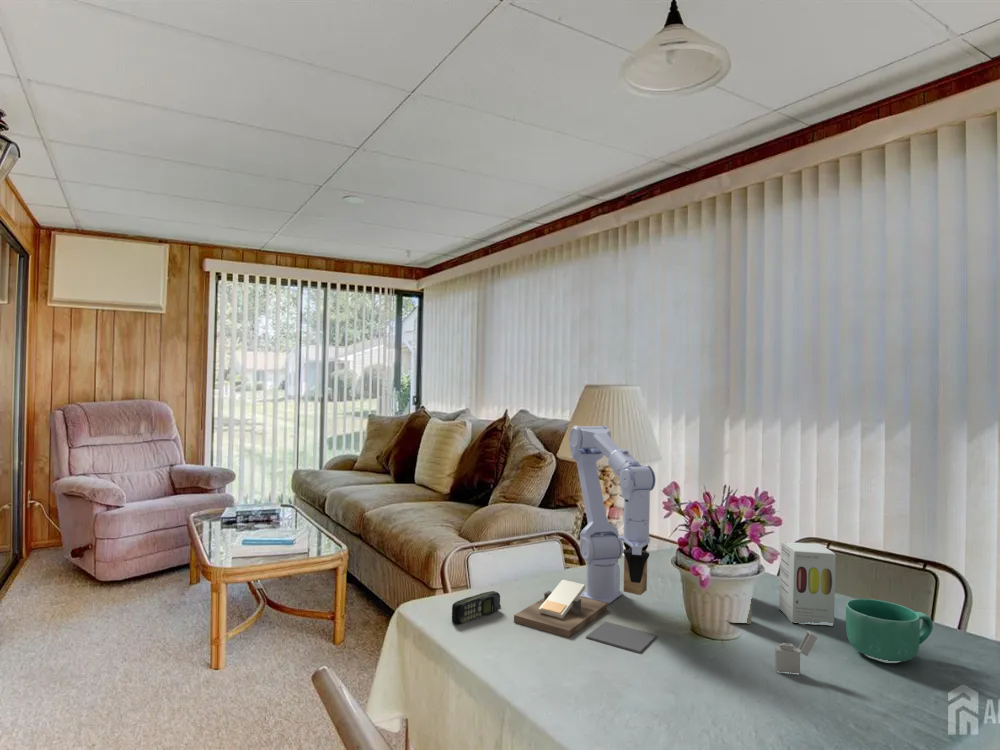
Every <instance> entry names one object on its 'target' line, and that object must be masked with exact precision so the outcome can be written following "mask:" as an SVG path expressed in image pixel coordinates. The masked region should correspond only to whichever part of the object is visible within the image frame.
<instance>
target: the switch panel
mask: <svg viewBox="0 0 1000 750" xmlns="http://www.w3.org/2000/svg"><path fill="white" fill-rule="evenodd" d="M552 592H553V591H550V590H548V591H546V592H544V593H543V595H544V596H543V598H541V599H540V600H537V601H536V602H535V603H532V604H531V605H529V606H527V607H525V608H524V609H522V610H521V611H518V612H517V613H515V614H514V615H513V622H514V623H517V624H521V625H524V626H527V627H531V628H534V629H538V630H541V631H545V632H548V633H552V634H555V635H557V636H558V635H559V636H562V637H566V638H571V637H573V635H575V634H576V633H578V632H579V631H580V630H582V629H583V628H585V627H586V626H587V625H589V624H590V623H591V622H592V621H594V620H595V619H597V618H598V617H600V616H601V615H602V614H604V613H605V612H606V611H608V605H609V604H608V603H605V602H601V601H596V600H592V599H588V598H584V597H580V596H579V597H578V598H576V599H575V600H573V605H572V607H571V608H570V609H569V611H568V612H567V613H566V615H565V616H564V617H563V619H562V618H558V617H555V616H551V615H547V614H543V613H540V612H539V608H540V606H541V605H542V604H543V603H544V601H545V600H546V599H547V598H548V597H549V595H550V594H551V593H552Z"/></svg>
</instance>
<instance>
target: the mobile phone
mask: <svg viewBox="0 0 1000 750" xmlns="http://www.w3.org/2000/svg"><path fill="white" fill-rule="evenodd" d="M500 608H501V595H500V593H499V592H498V591H495V590H492V591H486V592H482V593H479V594H476V595H471V596H468V597H465V598H462V599H460V600H457V601H455V602H454V603H452V607H451V623H452V624H454V625H456V626H459V624H460V625H462V623H463V624H464V623H465V622H466V623H468V622H471V621H474V620H477V618H478V619H480V618H485V617H488V616H490V615H493V614H494V613H496V612H497V611H498V610H499V609H500ZM484 616H485V617H484ZM466 623H465V624H466Z"/></svg>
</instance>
